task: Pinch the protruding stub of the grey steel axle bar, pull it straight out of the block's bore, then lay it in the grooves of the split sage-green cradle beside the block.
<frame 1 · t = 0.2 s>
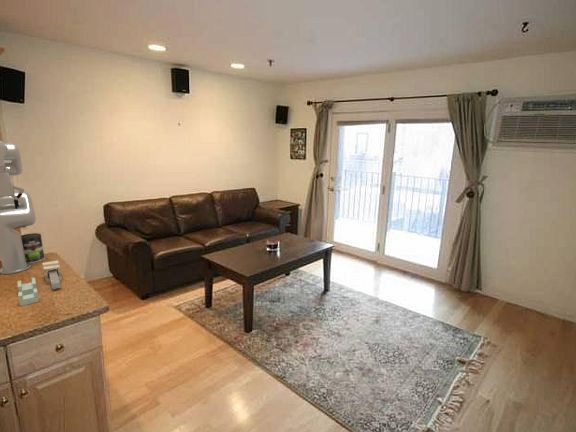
hand: (2, 210, 142), 36 cm above the countertop, tool pointing down, fingers open, 9 cm apart
axle: (54, 279, 153), point 2 cm above the countertop, tilted 10°, touching block
cradle: (28, 295, 143), on the countertop
block: (53, 278, 159), on the countertop
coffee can: (33, 260, 181), on the countertop
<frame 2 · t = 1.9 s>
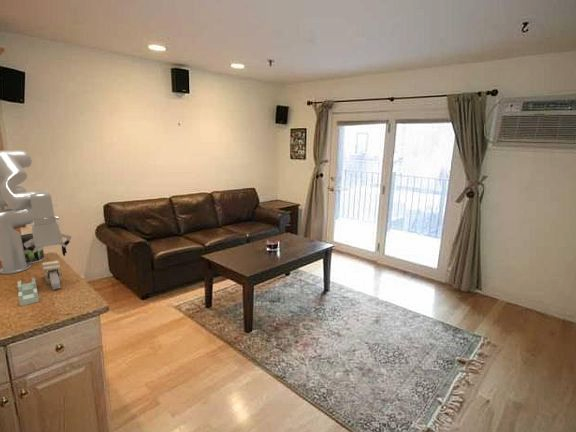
hand: (51, 257, 147), 15 cm above the countertop, tool pointing down, fingers open, 9 cm apart
nothing on the countertop moved.
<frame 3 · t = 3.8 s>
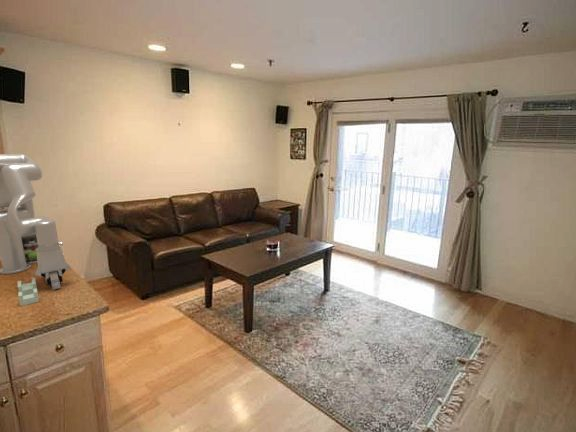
hand: (55, 284, 151), 1 cm above the countertop, tool pointing down, fingers closed on axle, 3 cm apart
axle: (54, 279, 153), point 2 cm above the countertop, tilted 10°, touching block, gripper
everything else where it was.
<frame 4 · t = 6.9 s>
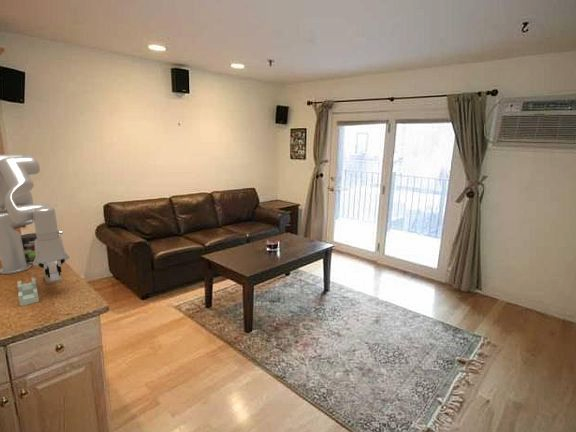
hand: (53, 274, 144), 9 cm above the countertop, tool pointing down, fingers closed on axle, 3 cm apart
axle: (52, 271, 146), point 9 cm above the countertop, tilted 10°, touching gripper
everything else where it was.
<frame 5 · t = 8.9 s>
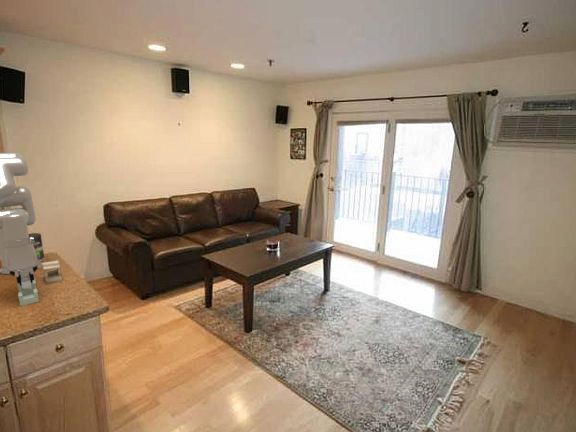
hand: (26, 282, 139), 7 cm above the countertop, tool pointing down, fingers closed on axle, 3 cm apart
axle: (25, 279, 142), point 7 cm above the countertop, tilted 7°, touching gripper
everything else where it was.
when the fingers open (2 cm above the countertop, at t = 10.1 s): axle stays where it is, resting on cradle.
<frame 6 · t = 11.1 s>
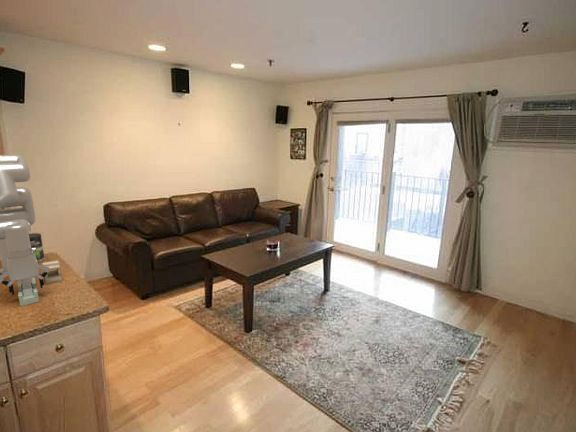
hand: (27, 290, 140), 3 cm above the countertop, tool pointing down, fingers open, 9 cm apart
axle: (27, 288, 144), point 2 cm above the countertop, touching cradle
everything else where it was.
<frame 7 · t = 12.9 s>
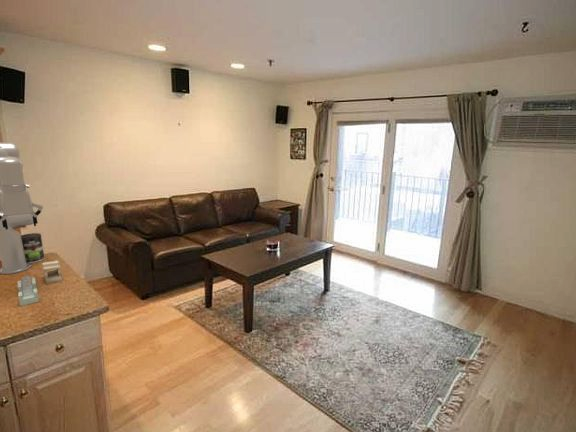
hand: (21, 227, 143), 29 cm above the countertop, tool pointing down, fingers open, 9 cm apart
nothing on the countertop moved.
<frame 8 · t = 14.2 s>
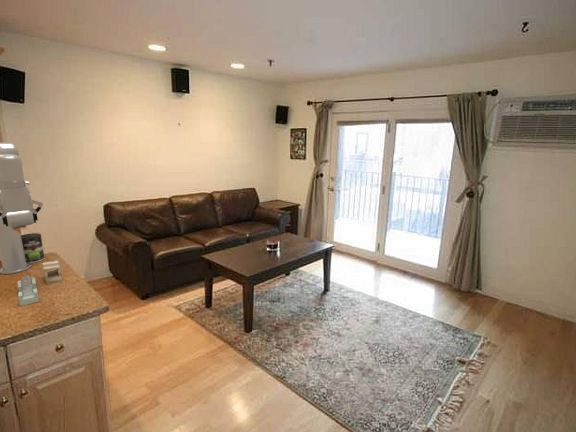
hand: (21, 223, 143), 30 cm above the countertop, tool pointing down, fingers open, 9 cm apart
nothing on the countertop moved.
at the end: axle 0.5 cm from the target spot on the cradle, point 2.5 cm above the cradle's base; axle touching cradle; the gripper is holding nothing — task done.
